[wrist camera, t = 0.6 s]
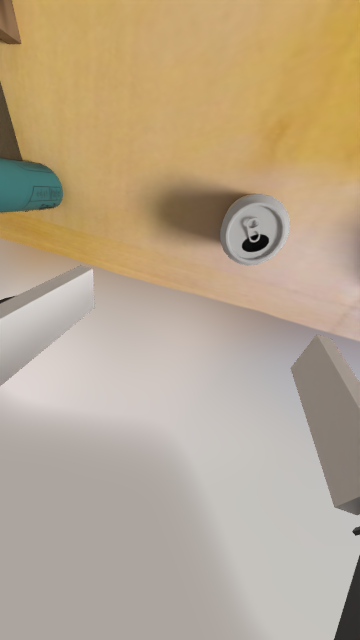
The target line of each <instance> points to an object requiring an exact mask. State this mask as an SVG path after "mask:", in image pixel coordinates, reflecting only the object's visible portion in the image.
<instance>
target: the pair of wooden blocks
mask: <svg viewBox="0 0 360 640" xmlns="http://www.w3.org/2000/svg"><path fill="white" fill-rule="evenodd" d="M0 39H2V40H3V41H5V42H6V43H8V44H21V40H20V36H19V31H18V27H17V22H16V18H15V13H14V9H13V5H12V0H0Z"/></svg>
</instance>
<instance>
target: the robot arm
mask: <svg viewBox="0 0 360 640" xmlns="http://www.w3.org/2000/svg"><path fill="white" fill-rule="evenodd" d="M94 307H95V303H94V284H93V269H91V268H88V267H85V266H82V265H80V266H78V267H76V268H74V269H72V270H70V271H68V272H66V273H64V274H62V275H59V276H58V277H55V278H53V279H51V280H49V281H47V282H45V283H43V284H41V285H39V286H36V287H34V288H32V289H30V290H28V291H26V292H24V293H22V294H20V295H17V296H13V297H9V298H5V299H2V300H0V386H1V385H2V384H3V383H5V382H6V381H7V380H8V379H9V378H11V377H12V376H13V375H14V374H16V373H17V372H18V371H19V370H20V369H22V368H23V367H24V366H25V365H26V364H28V363H29V362H30V361H31V360H32V359H34V358H35V357H36V356H37V355H38V354H40V353H41V352H42V351H43V350H44V349H46V348H47V347H48V346H49V345H50V344H52V343H53V342H54V341H55V340H56V339H58V338H59V337H60V336H61V335H63V334H64V333H65V332H66V331H67V330H69V329H70V328H71V327H72V326H73V325H75V324H76V323H77V322H78V321H79V320H81V319H82V318H83V317H84V316H85V315H86V314H88V313H89V312H90V311H91V310H92V309H94ZM291 371H292V374H293V377H294V381H295V384H296V387H297V390H298V393H299V396H300V400H301V403H302V406H303V409H304V412H305V415H306V418H307V422H308V425H309V427H310V431H311V434H312V437H313V441H314V444H315V447H316V450H317V453H318V457H319V460H320V463H321V466H322V469H323V472H324V476H325V479H326V482H327V485H328V488H329V491H330V495H331V498H332V501H333V504H334V507H335V508H339V509H341V510H344V511H347V512H350V513H352V514H355V515H359V514H360V382H359V380H358V379H357V378H356V376H355V374H354V373H353V371H352V370H351V368H350V367H349V365H348V364H347V362H346V361H345V359H344V358H343V356H342V355H341V353H340V351H339V350H338V348H337V347H336V346H335V344H334V343H333V341H332V339H330V338H327V337H324V336H321V335H316V336H315V338H314V339H313V340H312V341H311V342H310V344H309V345H308V346H307V348H306V349H305V350H304V352H303V353H302V354H301V356H300V357H299V358H298V359H297V361H296V362H295V363H294V365H293V366H292V367H291ZM353 533H354V534H355V535H360V527H356V528H355V529H354V530H353ZM334 640H360V556H359V559H358V562H357V566H356V569H355V572H354V576H353V579H352V582H351V586H350V589H349V592H348V595H347V599H346V602H345V605H344V609H343V612H342V615H341V618H340V622H339V625H338V628H337V632H336V635H335V638H334Z"/></svg>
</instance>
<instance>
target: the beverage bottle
mask: <svg viewBox="0 0 360 640" xmlns="http://www.w3.org/2000/svg"><path fill="white" fill-rule="evenodd" d="M17 160H19V159H17ZM24 161H25V160H24ZM31 162H32V161H29V162H27V161H26V162H23V161H22V160H19V161H16V160H13V159H11V160H9V159H7V158H5V159H2V157H1V158H0V212H1V213H2V212H14V211H25V210H26V211H27V210H28V211H29V210H36V211H37V210H38V209H46V208H54V207H56V206H58V205H59V204H60V203H61V201H62V197H63V191H62V186H61V183H60V181H59V179H58V177H57V176H56V174H55V173H54V172H53V171H52V170H51V169H49V168H48V167H47V166H44V164H43V165H42V163H41V164H40V163H39V164H37V163H34V162H32V163H31ZM26 211H25V212H26Z"/></svg>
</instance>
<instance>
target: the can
mask: <svg viewBox="0 0 360 640" xmlns="http://www.w3.org/2000/svg"><path fill="white" fill-rule="evenodd" d="M289 226H290V221H289V216H288V212H287V210H286V209H285V207H284V206H283V204H282V203H281V202H280V201H279V200H277V199H276V198H274V197H272V196H268V195H263V194H251V195H245V196H243V197H241V198H239V199H237V200H236V201H235V202H234V203H233V204H232V205H231V206H230V207H229V209H228V211H227V212H226V214H225V217H224V219H223V222H222V226H221V230H220V240H221V244H222V247H223V250H224V252H225V253H226V254H227V255H228V257H229V258H230V259H232V260H234V261H235V262H237V263H239V264H244V265H257V264H260V263H263V262H265V261H268V260H269V259H270V258H272V257H273V256H275V255H276V254H277V253H278V252H279V250H280V249H281V248H282V247H283V246H284V244H285V241H286V239H287V237H288V234H289Z"/></svg>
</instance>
